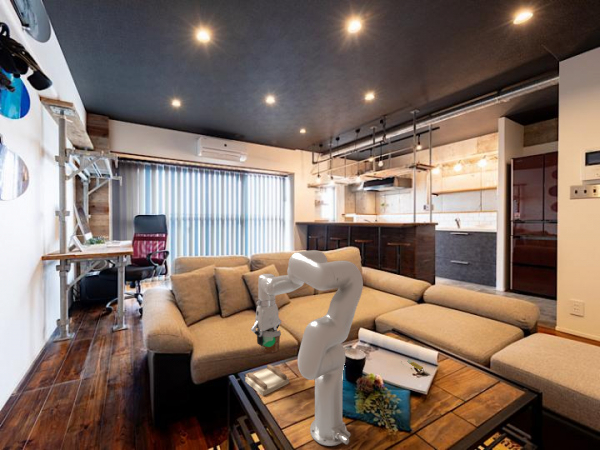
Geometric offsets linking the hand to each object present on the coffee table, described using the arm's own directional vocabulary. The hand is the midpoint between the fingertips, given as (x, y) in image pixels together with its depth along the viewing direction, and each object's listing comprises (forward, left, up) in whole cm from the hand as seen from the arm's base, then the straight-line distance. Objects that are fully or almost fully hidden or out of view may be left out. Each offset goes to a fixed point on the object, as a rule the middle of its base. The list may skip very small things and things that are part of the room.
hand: (266, 341), depth 124 cm
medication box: (-38, -58, -19) cm, 72 cm away
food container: (0, 0, -4) cm, 4 cm away
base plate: (0, 0, -18) cm, 18 cm away
